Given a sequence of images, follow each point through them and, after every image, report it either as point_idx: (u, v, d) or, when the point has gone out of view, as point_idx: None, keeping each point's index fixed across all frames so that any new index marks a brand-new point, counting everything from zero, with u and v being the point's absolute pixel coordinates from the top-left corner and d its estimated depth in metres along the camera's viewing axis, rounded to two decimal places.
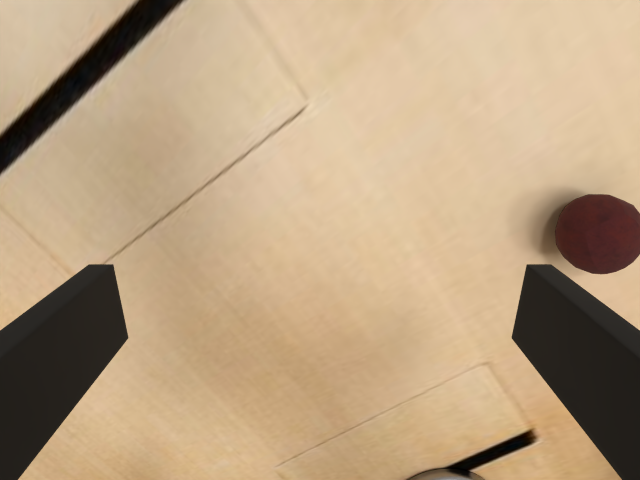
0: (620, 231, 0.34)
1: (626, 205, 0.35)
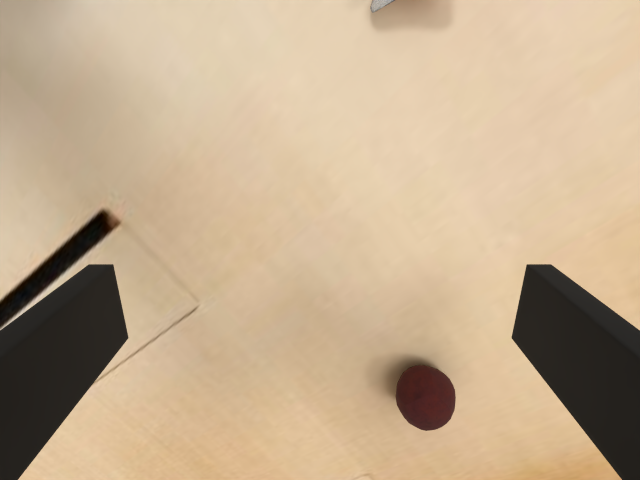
0: (428, 407, 0.45)
1: (437, 383, 0.47)
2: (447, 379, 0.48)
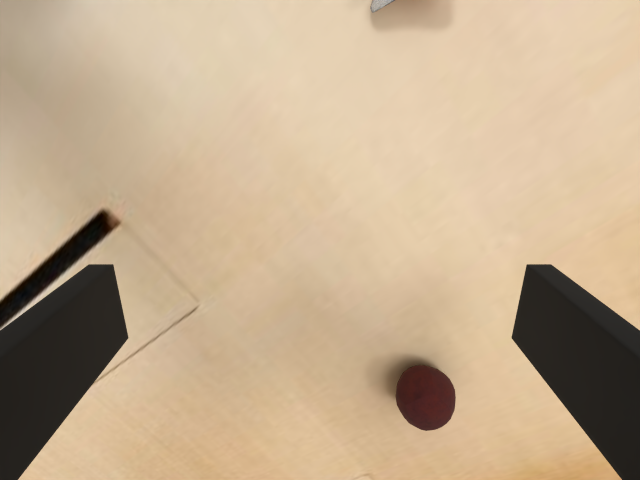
0: (428, 407, 0.45)
1: (437, 383, 0.47)
2: (447, 379, 0.48)
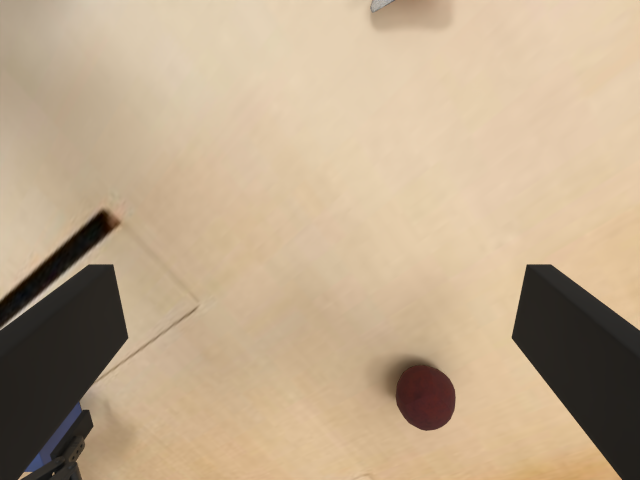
0: (428, 407, 0.45)
1: (437, 383, 0.47)
2: (447, 379, 0.48)
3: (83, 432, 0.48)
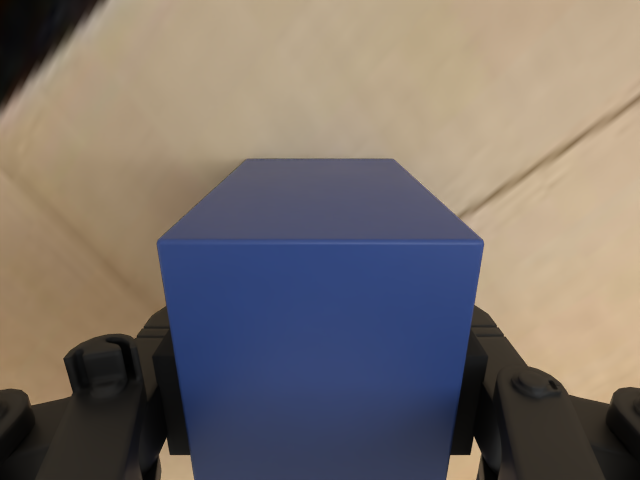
0: None
1: None
2: None
3: None
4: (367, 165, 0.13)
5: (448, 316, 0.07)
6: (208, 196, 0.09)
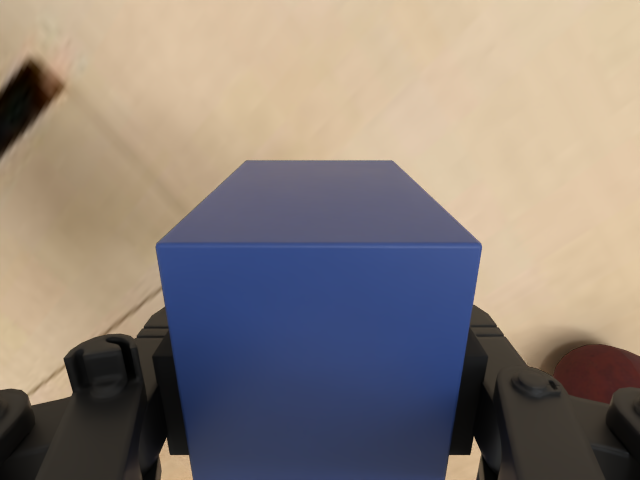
0: None
1: None
2: None
3: None
4: (366, 167, 0.13)
5: (446, 319, 0.07)
6: (207, 198, 0.09)
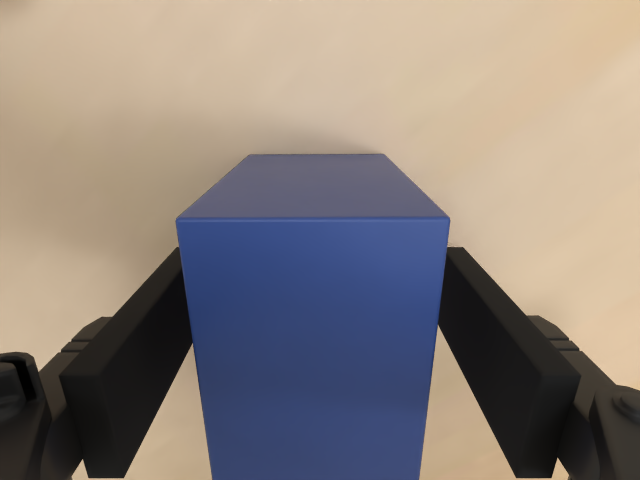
0: None
1: None
2: None
3: None
4: (359, 159, 0.14)
5: (421, 283, 0.08)
6: (216, 185, 0.10)
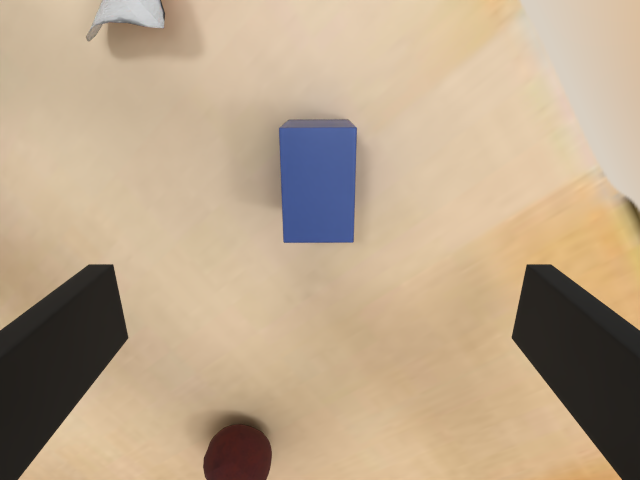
0: (225, 478, 0.40)
1: (241, 449, 0.41)
2: (259, 442, 0.43)
3: None
4: (336, 120, 0.33)
5: (349, 148, 0.27)
6: (284, 124, 0.29)
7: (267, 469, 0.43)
